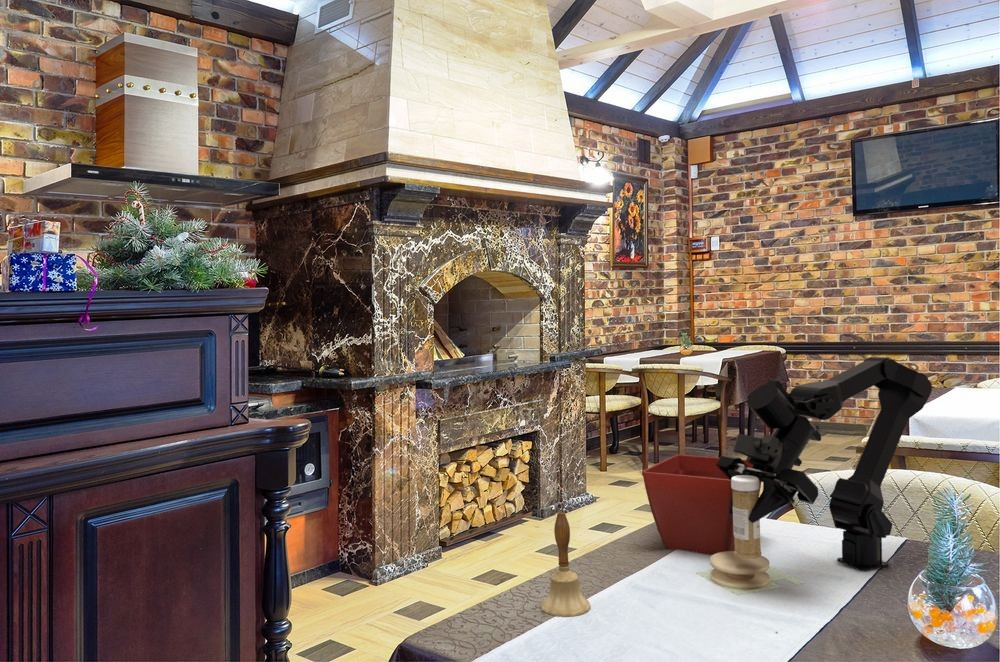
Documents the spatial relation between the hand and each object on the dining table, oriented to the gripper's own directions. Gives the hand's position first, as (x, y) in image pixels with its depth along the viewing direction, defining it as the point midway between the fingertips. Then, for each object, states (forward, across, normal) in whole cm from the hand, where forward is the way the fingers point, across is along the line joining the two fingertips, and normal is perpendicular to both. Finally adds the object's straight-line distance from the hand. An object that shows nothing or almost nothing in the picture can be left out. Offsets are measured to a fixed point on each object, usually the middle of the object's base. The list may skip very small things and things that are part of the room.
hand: (740, 518), depth 133 cm
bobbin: (+7, -4, +11) cm, 13 cm away
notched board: (+6, -4, +13) cm, 15 cm away
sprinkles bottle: (+4, 0, +6) cm, 7 cm away
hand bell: (+29, -11, -11) cm, 33 cm away
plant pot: (+1, -23, +18) cm, 29 cm away
